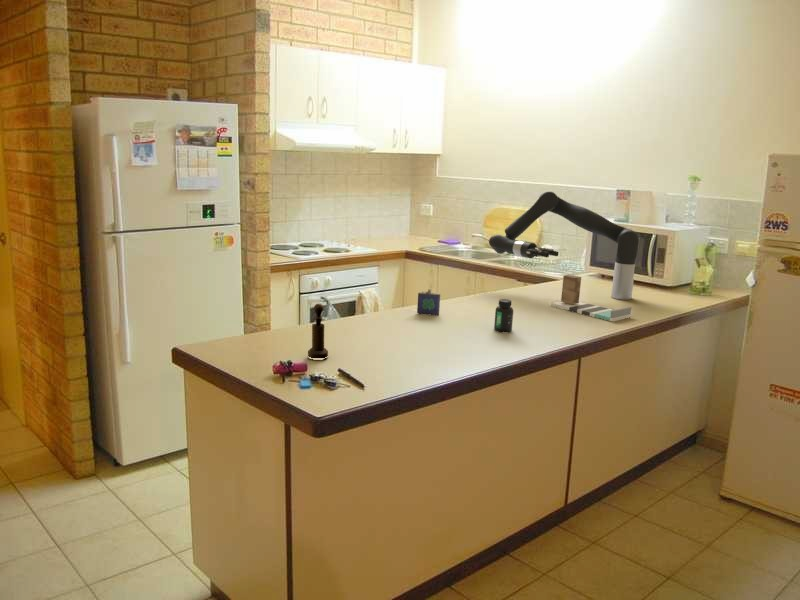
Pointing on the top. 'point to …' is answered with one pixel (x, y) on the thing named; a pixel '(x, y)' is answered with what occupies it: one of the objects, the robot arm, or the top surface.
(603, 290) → the top surface
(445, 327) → the top surface
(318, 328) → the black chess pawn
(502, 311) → the supplement bottle
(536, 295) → the top surface
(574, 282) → the slider block
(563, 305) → the track
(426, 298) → the flask
